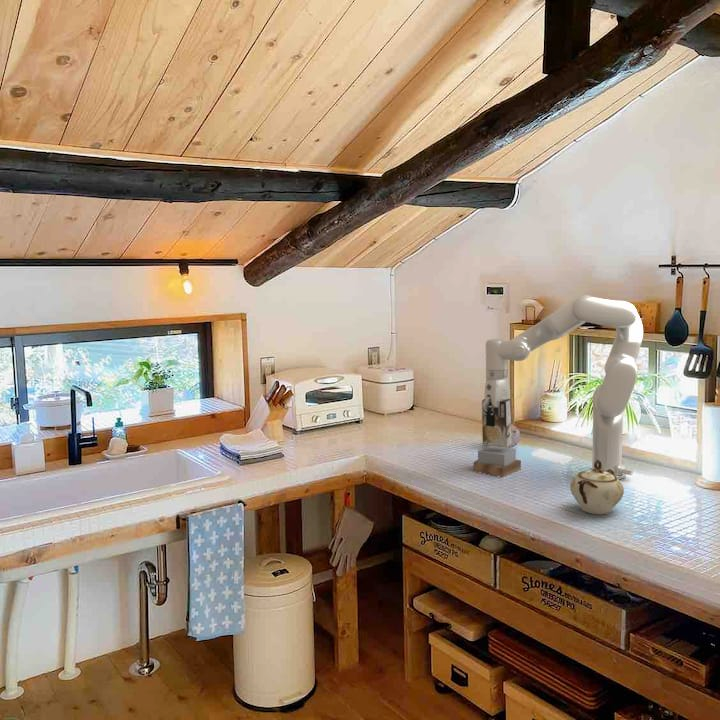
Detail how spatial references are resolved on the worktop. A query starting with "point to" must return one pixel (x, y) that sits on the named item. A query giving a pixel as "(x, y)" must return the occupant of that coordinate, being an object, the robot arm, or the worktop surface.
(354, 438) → the worktop surface
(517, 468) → the tower base block
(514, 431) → the food item
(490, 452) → the tower top block
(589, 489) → the sugar bowl
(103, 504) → the worktop surface
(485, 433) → the coffee box
